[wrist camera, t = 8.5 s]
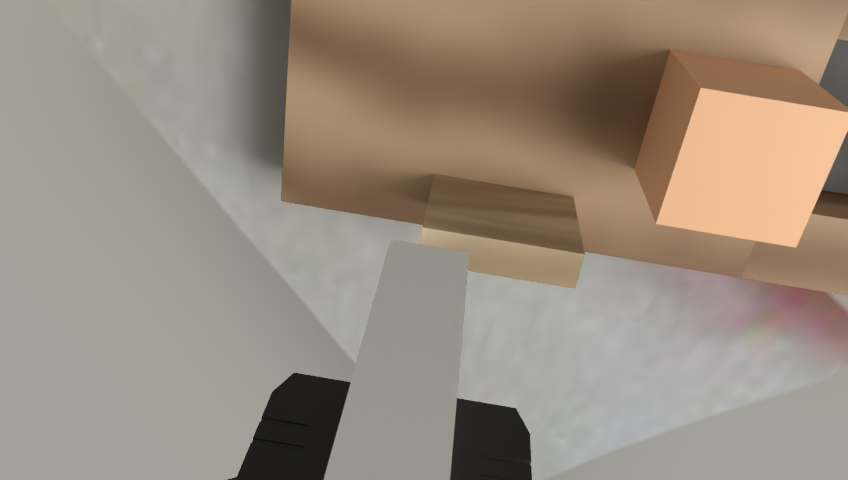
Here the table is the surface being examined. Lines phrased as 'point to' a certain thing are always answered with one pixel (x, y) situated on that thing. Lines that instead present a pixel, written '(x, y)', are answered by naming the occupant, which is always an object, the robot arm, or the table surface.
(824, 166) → the block
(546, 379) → the table surface
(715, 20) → the deck
